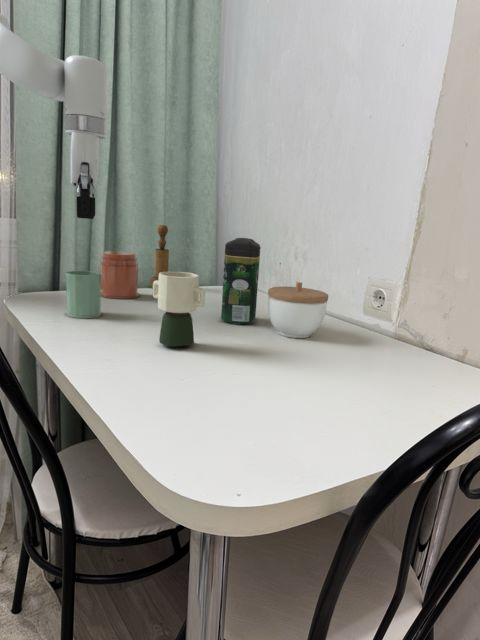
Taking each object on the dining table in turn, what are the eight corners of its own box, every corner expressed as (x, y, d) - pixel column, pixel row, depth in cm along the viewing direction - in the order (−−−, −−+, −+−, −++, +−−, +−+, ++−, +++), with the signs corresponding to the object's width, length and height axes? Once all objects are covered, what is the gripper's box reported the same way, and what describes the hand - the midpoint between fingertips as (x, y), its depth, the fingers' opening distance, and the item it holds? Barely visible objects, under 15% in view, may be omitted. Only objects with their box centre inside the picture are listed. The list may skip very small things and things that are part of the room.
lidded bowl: (261, 325, 113) (266, 276, 110) (316, 328, 115) (322, 280, 112) (268, 339, 101) (273, 285, 98) (329, 343, 103) (336, 289, 100)
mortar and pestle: (145, 287, 148) (146, 223, 143) (156, 284, 154) (158, 223, 149) (165, 290, 146) (167, 226, 141) (176, 287, 152) (178, 225, 147)
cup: (61, 313, 109) (60, 271, 106) (90, 310, 114) (89, 270, 111) (77, 319, 104) (76, 276, 102) (106, 316, 109) (106, 274, 107)
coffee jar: (223, 314, 121) (228, 235, 116) (256, 317, 121) (262, 238, 116) (218, 323, 111) (223, 237, 106) (253, 326, 111) (260, 241, 106)
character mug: (212, 346, 93) (216, 276, 90) (190, 355, 87) (194, 280, 83) (163, 336, 97) (165, 268, 94) (140, 343, 91) (141, 271, 88)
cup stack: (92, 293, 132) (92, 250, 129) (124, 290, 139) (125, 250, 136) (113, 300, 126) (113, 255, 123) (146, 297, 133) (146, 255, 130)
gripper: (68, 130, 107) (70, 214, 111) (61, 120, 91) (63, 217, 96) (105, 135, 109) (105, 216, 114) (105, 125, 93) (105, 220, 98)
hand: (86, 217), depth 105 cm, fingers open, 9 cm apart
